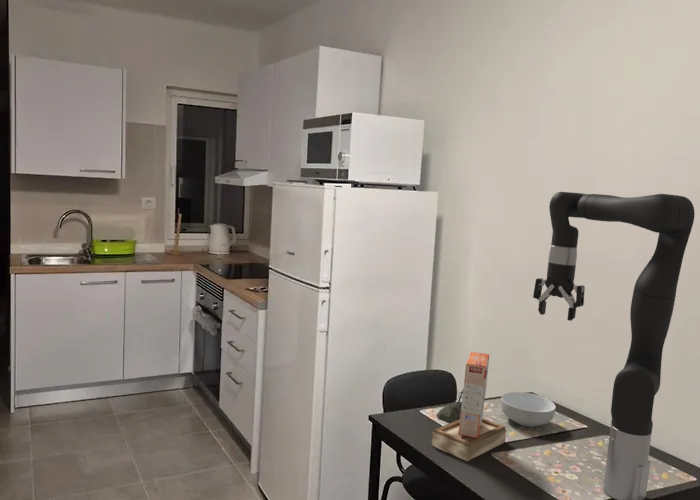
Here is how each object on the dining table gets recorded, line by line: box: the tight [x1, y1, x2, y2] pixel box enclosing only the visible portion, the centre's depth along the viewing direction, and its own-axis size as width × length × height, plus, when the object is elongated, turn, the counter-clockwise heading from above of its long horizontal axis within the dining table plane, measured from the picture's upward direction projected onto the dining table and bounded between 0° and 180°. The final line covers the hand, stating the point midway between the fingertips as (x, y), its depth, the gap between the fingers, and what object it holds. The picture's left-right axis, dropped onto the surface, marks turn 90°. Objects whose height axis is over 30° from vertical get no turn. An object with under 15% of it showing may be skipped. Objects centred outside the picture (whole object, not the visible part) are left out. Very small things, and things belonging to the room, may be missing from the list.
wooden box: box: [431, 417, 507, 462], centre depth 177 cm, size 12×20×5 cm, turn 136°
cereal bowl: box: [500, 391, 557, 428], centre depth 197 cm, size 17×17×7 cm
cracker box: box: [459, 351, 490, 438], centre depth 175 cm, size 14×6×21 cm, turn 164°
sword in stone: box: [436, 389, 463, 424], centre depth 195 cm, size 10×8×12 cm
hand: (555, 317), depth 177 cm, fingers open, 8 cm apart
